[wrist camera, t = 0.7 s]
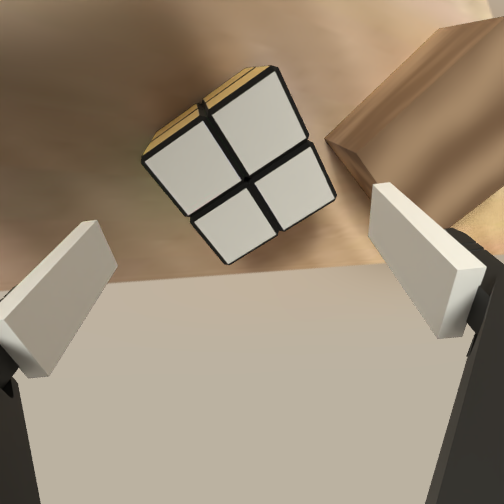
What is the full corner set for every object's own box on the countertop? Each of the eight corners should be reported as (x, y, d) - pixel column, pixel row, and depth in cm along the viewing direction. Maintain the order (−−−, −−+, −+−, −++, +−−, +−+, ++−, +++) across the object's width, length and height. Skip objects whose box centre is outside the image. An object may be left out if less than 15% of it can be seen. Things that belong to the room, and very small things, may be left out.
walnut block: (323, 137, 30) (356, 153, 24) (436, 29, 27) (506, 15, 21) (384, 219, 36) (422, 247, 30) (482, 138, 33) (547, 152, 27)
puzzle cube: (299, 164, 31) (340, 199, 22) (217, 218, 32) (227, 269, 23) (247, 65, 26) (276, 60, 17) (153, 133, 27) (136, 161, 18)
